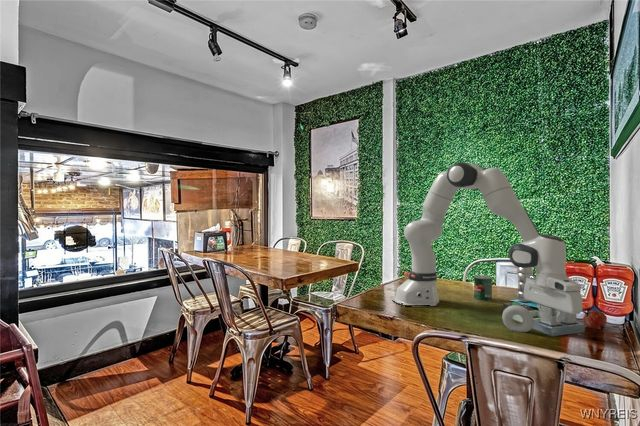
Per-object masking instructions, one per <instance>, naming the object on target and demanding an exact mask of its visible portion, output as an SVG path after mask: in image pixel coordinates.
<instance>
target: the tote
mask: <svg viewBox="0 0 640 426" xmlns="http://www.w3.org/2000/svg"><path fill="white" fill-rule="evenodd" d="M529 312H530V313H531V314H532V316H533V319H534V321H541V316H540V311H539V310H538V309H537V310H530V311H529ZM534 317H535V318H534ZM512 319H513V321H517V322H519V323H522V322H523V318H522V317H521V316H520V315H514V316H513V318H512Z"/></svg>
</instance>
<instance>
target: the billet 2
mask: <svg viewBox="0 0 640 426" xmlns="http://www.w3.org/2000/svg"><path fill="white" fill-rule="evenodd" d="M576 322H577V314H570V313H567V312H565V313H564V315H563V316H562V317H561V322H560V323H563V324H566V325H573V324H576Z"/></svg>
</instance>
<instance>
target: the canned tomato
mask: <svg viewBox="0 0 640 426" xmlns="http://www.w3.org/2000/svg"><path fill="white" fill-rule="evenodd" d="M473 279H474V280H473V281H474V282H473V290H474V292H473V299H474V300H476V301H477V302H479V301H480V302H491V301H492V300H493V298H492V297H493V277H492V276H489V275H483V274H482V275H481V274H479V275H474V278H473Z"/></svg>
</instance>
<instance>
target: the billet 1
mask: <svg viewBox="0 0 640 426" xmlns="http://www.w3.org/2000/svg"><path fill="white" fill-rule="evenodd" d="M557 314H558V313H557V312H556V309H554V308H551V307H548V306H545V305H541V324H544V325H546V326H549V327H558V326H560V322H556V321H554V316H556V315H557Z"/></svg>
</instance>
